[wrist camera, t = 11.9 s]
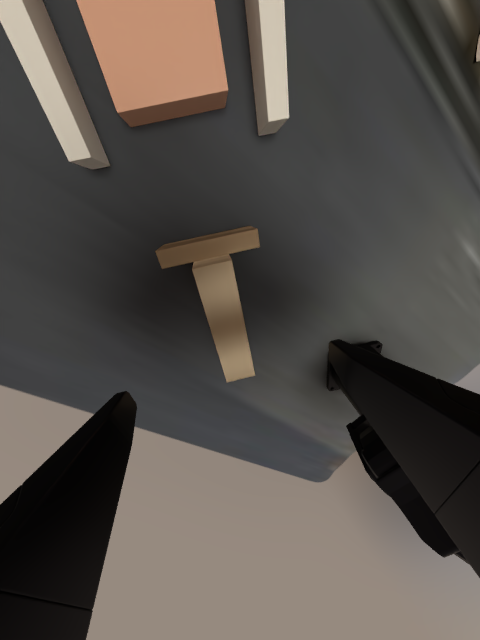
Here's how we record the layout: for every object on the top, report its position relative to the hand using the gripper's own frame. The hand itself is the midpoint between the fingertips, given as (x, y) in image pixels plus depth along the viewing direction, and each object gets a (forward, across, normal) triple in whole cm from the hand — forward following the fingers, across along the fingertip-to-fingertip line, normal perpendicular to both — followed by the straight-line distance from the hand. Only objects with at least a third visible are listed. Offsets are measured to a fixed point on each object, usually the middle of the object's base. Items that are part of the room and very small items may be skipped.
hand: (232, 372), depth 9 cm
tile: (+11, 0, -14) cm, 18 cm away
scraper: (+11, 0, +2) cm, 11 cm away
